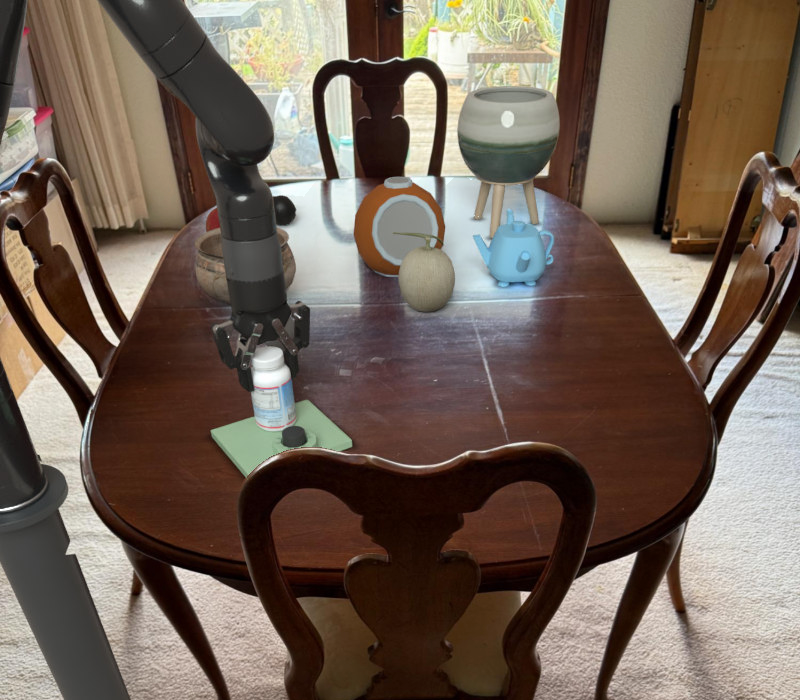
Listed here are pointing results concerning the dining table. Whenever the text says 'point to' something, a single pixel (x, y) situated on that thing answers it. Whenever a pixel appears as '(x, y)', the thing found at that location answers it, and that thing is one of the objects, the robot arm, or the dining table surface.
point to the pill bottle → (272, 390)
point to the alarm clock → (396, 224)
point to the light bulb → (290, 330)
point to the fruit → (426, 276)
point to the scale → (277, 437)
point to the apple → (212, 220)
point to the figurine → (284, 210)
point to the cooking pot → (212, 263)
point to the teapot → (516, 252)
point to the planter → (507, 142)
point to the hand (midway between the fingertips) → (270, 382)
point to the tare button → (293, 436)
